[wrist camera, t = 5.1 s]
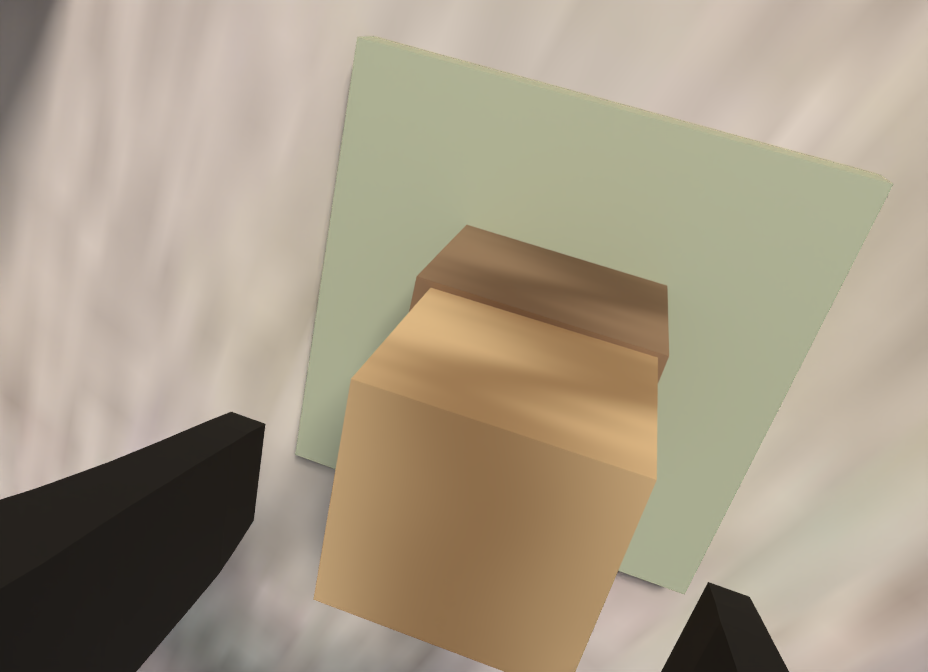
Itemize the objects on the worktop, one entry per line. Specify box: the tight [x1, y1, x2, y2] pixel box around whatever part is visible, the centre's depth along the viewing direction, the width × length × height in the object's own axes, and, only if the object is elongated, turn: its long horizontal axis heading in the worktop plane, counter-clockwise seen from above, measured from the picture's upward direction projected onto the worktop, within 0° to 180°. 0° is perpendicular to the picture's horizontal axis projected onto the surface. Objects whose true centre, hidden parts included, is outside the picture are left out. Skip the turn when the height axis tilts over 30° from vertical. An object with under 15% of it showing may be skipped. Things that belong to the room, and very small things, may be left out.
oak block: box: [314, 288, 658, 672], centre depth 13 cm, size 4×4×4 cm
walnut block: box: [409, 225, 669, 382], centre depth 16 cm, size 5×5×4 cm
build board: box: [295, 36, 893, 594], centre depth 19 cm, size 12×12×1 cm
